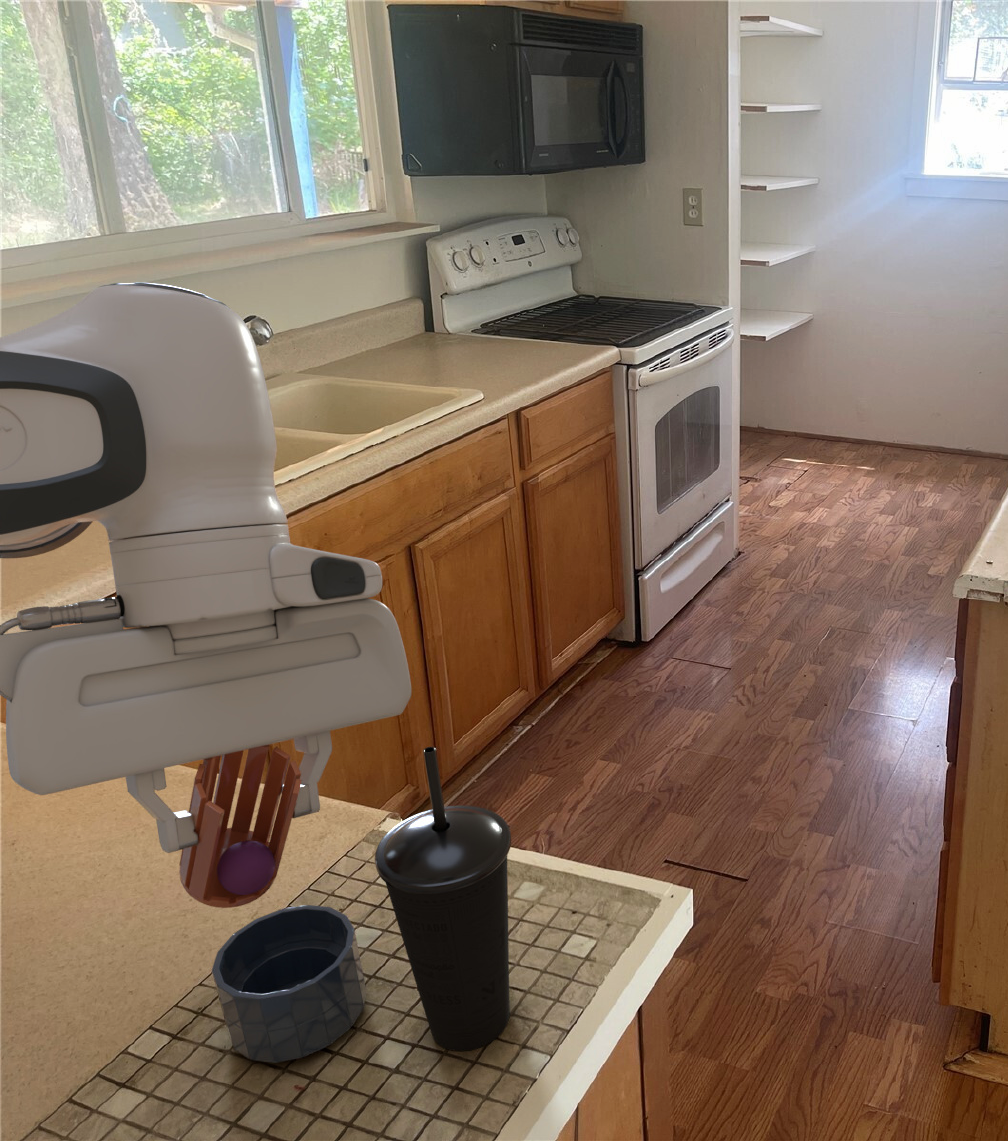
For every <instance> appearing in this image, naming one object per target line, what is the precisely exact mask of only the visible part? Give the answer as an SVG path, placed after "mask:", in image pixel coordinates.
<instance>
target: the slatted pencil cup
mask: <svg viewBox="0 0 1008 1141" xmlns="http://www.w3.org/2000/svg"><path fill="white" fill-rule="evenodd" d="M270 745H271V744H269V745H264V746H260V747H255V748H251V749H247V755H246V759H245V764H244V767H243V768H244V769H243V773H242V778H241V782H240V787H239V792H238V796H237V799H236V800H237V801H236V805H235V810H234V813H233V814H234V815H233V819H232V823H231V827H228V825H229V820H230V816H231V812H232V806H233V802H234V798H235V793H236V788H237V784H238V778H239V773H240V769H241V765H242V760H243V755H244V751H245V750H242V751H238V752H233V753H229V754H225V755H220V756H216V757H211V758H207V759H203V761H202V763H199V765H198V768H197V771H196V774H195V776H194V781H193V786H192V791H191V797H190V798H191V799H190V802H189V808H188V809H189V810H188V812H189V813H191V814H193V815H194V821H195V827H196V828H195V830H194V832H195V833H197V834H198V845H195V846H192V847H189V848H185V849H182V850H181V853H180V858H179V865H178V866H179V871H178V873H179V880H180V883H181V886H182V888H183V889H184V890H185V891H186V893H187V894H188V895H189V896H190V897H191V898H193V899H194V900H196V901H197V902H199V903H201V904H203V905H206V906H209V907H211V908H218V909H219V908H220V909H227V908H228V909H229V908H230V909H231V908H238V907H242V906H245V905H248V904H250V903H253V902H254V901H257V900H258V899H259V898H261V897H262V896H264V895H265V894H266V893H267V892H268V891H269V889H270V888H271V887H272V886H273V884H274V882H275V880H276V878H277V875H278V872H279V869H280V865H281V861H282V857H283V853H284V851H285V850H284V849H285V846H286V842H287V838H288V834H289V831H290V827H291V824H292V820H293V818H292V816H293V813H294V809H295V805H296V801H297V798H298V794H299V790H300V786H301V782H302V780H301V779H300V777H301V772H300V770H299V766H298V764H297V762H296V760H291V755H290V754H289V753H287V752H286V751H284V750H282V749H281V748H280V747H278V746H275V747H274V748H272V753H271V756H270V760H269V764H268V767H267V773H266V775H265V776H266V777H265V781H264V786H263V790H262V794H261V797H260V801H259V807H258V810H257V815H256V819H255V822H254V827H253V830H251V826H252V821H253V818H254V813H255V809H256V805H257V800H258V797H259V791H260V788H261V783H262V779H263V775H264V771H265V766H266V763H267V758H268V754H269V749H270ZM283 785H284V787H283ZM282 788H283V791H282ZM281 792H282V793H281ZM242 841H256V842H260V843H262V844H264V845H265V846H267V847H268V848H269V849H270V851H271V852H272V854H273V856H274V859H275V870H274V874H273V876H272V878H271V880H270V881H269V882H268V884H267V885H266V886H265V887H263V888H262V889H261V890H259V891H257V892H255V893H252V894H248V895H237V894H234V893H231V892H229V891H227V890H226V889H225V888H224V887H223V886H222V885H221V883H220V882H219V879H218V876H217V866H218V862H219V860H220V858H221V856H222V855H223V853H224V852H225V851H226V850H227V849H228V848H229V847H231V846H232V845H234V844H236V843H239V842H242Z"/></svg>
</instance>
